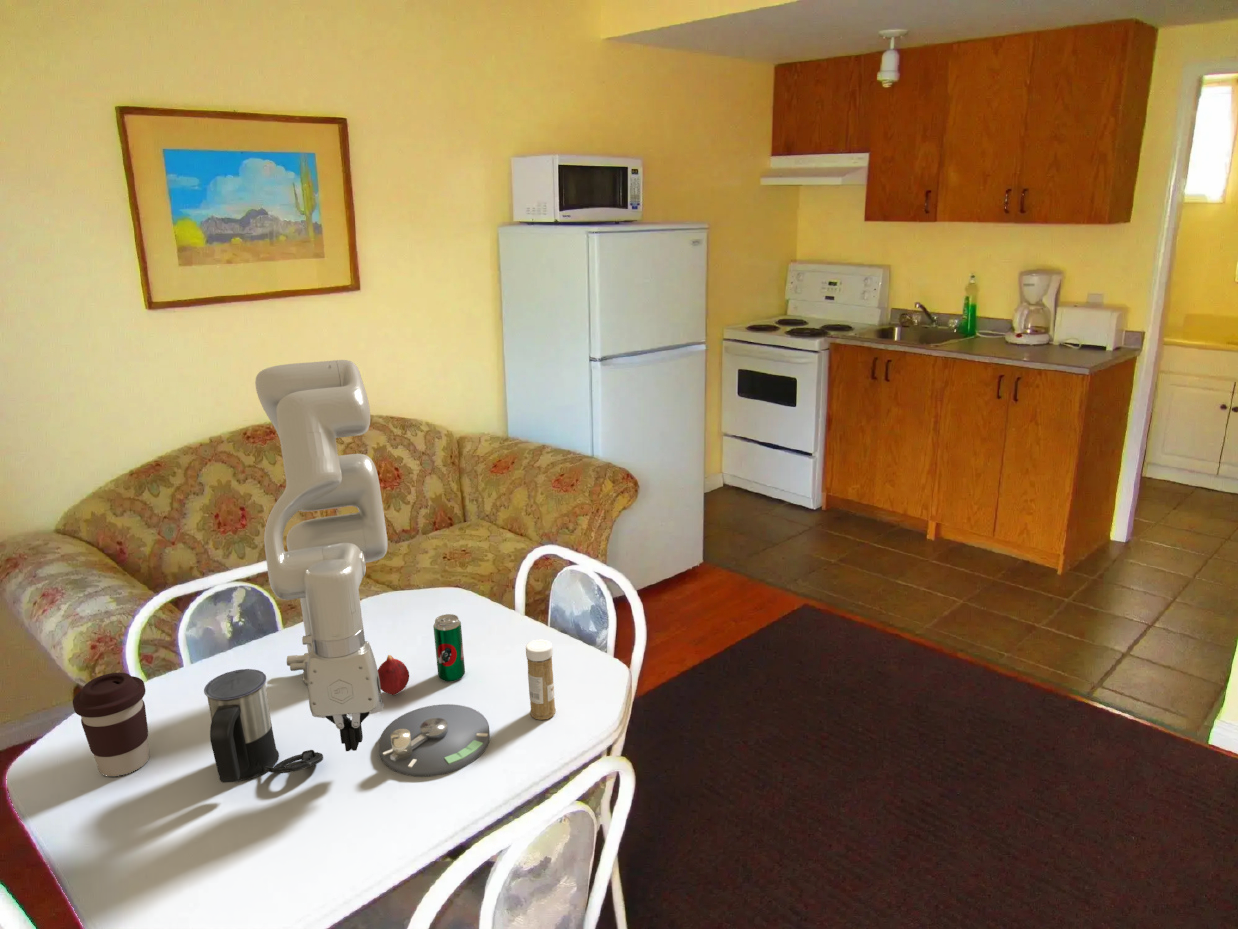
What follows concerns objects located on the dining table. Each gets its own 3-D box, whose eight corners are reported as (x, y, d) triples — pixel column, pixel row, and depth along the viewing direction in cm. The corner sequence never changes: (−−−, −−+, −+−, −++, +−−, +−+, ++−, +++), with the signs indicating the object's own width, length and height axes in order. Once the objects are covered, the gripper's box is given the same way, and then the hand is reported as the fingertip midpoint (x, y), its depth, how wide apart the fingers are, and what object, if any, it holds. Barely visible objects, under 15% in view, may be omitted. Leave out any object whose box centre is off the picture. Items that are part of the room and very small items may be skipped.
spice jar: (560, 715, 151) (557, 646, 147) (537, 724, 148) (533, 654, 145) (547, 703, 155) (544, 636, 151) (525, 711, 152) (520, 643, 148)
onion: (417, 690, 160) (413, 651, 158) (397, 706, 155) (392, 666, 153) (392, 683, 162) (387, 645, 160) (371, 699, 157) (366, 660, 155)
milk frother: (218, 755, 142) (203, 675, 138) (318, 731, 148) (307, 654, 144) (217, 807, 130) (200, 722, 125) (326, 779, 136) (314, 696, 131)
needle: (434, 721, 146) (432, 702, 145) (453, 729, 144) (451, 710, 143) (383, 755, 138) (381, 736, 137) (402, 765, 135) (400, 745, 134)
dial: (371, 781, 135) (370, 772, 134) (388, 716, 152) (387, 707, 151) (487, 771, 136) (486, 762, 136) (491, 708, 154) (491, 699, 153)
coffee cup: (88, 791, 134) (67, 707, 130) (91, 757, 143) (72, 677, 138) (159, 771, 138) (141, 689, 134) (158, 739, 147) (142, 661, 143)
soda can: (469, 677, 164) (464, 620, 160) (444, 686, 161) (439, 628, 157) (458, 666, 168) (453, 610, 164) (434, 674, 165) (428, 618, 161)
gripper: (281, 656, 127) (298, 764, 132) (385, 648, 128) (397, 756, 133) (294, 633, 134) (310, 736, 139) (392, 625, 135) (404, 728, 140)
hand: (352, 745), depth 136 cm, fingers closed
